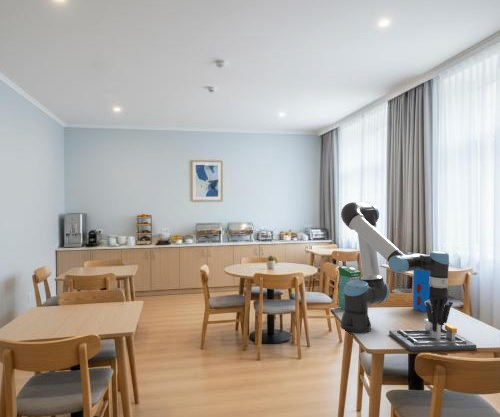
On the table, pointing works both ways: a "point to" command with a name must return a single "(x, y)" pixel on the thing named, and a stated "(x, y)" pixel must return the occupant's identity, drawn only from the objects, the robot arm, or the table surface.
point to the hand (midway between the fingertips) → (436, 338)
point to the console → (429, 341)
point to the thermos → (420, 289)
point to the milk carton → (346, 280)
